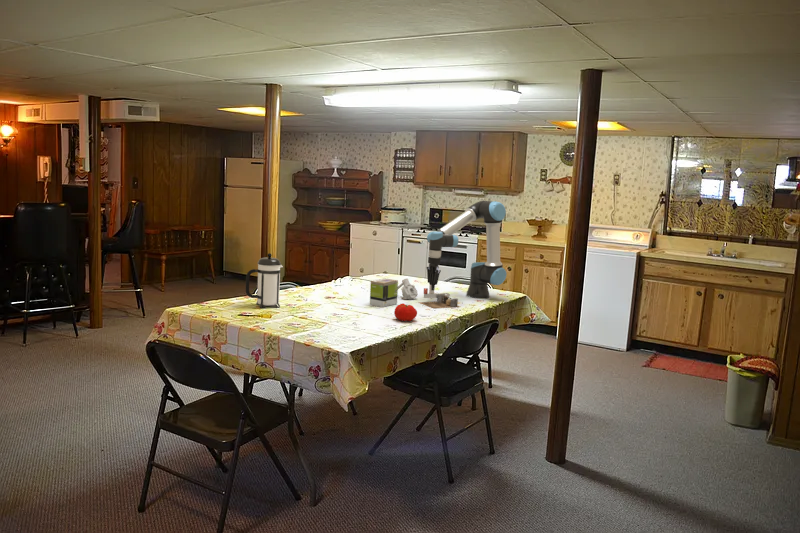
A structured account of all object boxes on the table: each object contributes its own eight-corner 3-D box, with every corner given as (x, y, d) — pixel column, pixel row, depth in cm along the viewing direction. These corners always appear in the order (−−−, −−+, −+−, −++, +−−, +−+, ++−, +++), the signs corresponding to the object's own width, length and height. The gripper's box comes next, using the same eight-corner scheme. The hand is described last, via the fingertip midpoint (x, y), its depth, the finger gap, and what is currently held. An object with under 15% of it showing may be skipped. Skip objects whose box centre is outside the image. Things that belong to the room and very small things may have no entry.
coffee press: (264, 302, 364) (265, 250, 360) (286, 305, 357) (288, 253, 353) (244, 306, 348) (245, 253, 344) (267, 310, 342) (269, 256, 337)
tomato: (419, 322, 335) (420, 307, 334) (397, 323, 332) (398, 307, 330) (412, 317, 347) (413, 302, 346) (390, 317, 344) (391, 302, 342)
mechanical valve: (408, 296, 391) (400, 276, 397) (392, 311, 402) (384, 290, 408) (420, 296, 398) (412, 276, 404) (404, 310, 409) (396, 290, 415)
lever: (447, 301, 389) (448, 287, 387) (450, 303, 384) (451, 289, 382) (421, 301, 383) (422, 287, 382) (424, 303, 378) (425, 289, 377)
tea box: (384, 301, 386) (385, 277, 384) (397, 304, 381) (398, 280, 379) (369, 304, 374) (370, 280, 372) (382, 307, 369) (383, 282, 367)
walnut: (449, 304, 382) (450, 298, 382) (453, 306, 379) (454, 299, 378) (444, 305, 380) (444, 298, 380) (448, 306, 377) (448, 299, 376)
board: (444, 302, 394) (445, 294, 393) (461, 308, 378) (462, 299, 377) (417, 304, 384) (418, 295, 383) (433, 310, 368) (434, 301, 367)
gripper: (423, 255, 384) (420, 293, 388) (434, 258, 373) (431, 297, 377) (434, 255, 388) (431, 292, 391) (445, 258, 377) (442, 297, 380)
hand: (431, 295), depth 384 cm, fingers closed
